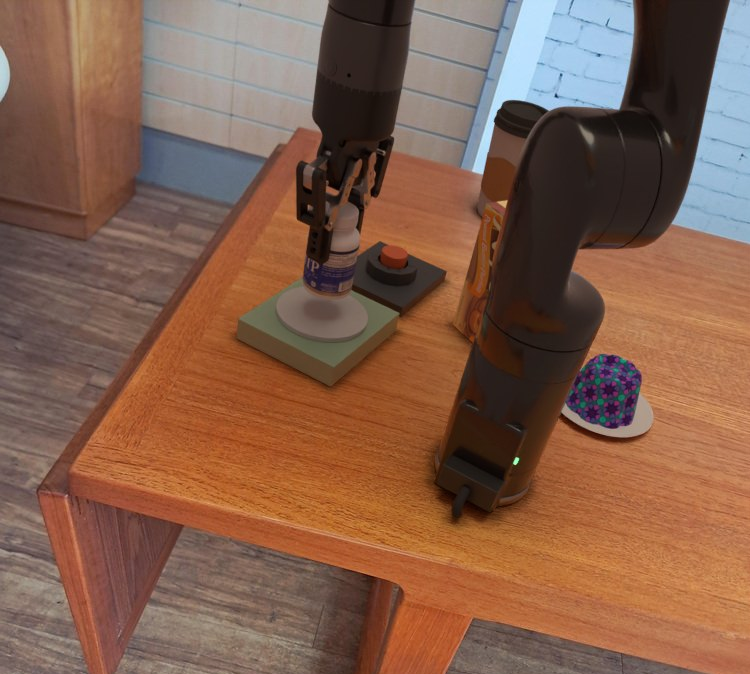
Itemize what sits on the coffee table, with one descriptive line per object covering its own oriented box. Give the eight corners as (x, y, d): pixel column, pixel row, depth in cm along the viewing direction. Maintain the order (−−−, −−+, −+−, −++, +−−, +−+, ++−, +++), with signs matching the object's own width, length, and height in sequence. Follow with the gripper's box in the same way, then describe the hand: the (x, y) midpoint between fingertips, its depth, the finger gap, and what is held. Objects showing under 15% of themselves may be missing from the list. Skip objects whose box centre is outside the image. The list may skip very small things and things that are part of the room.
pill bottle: (296, 274, 83) (306, 193, 77) (343, 274, 85) (357, 195, 79) (308, 301, 80) (319, 220, 74) (357, 301, 82) (372, 221, 75)
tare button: (397, 273, 94) (400, 261, 93) (374, 262, 95) (377, 251, 94) (409, 263, 96) (412, 252, 95) (387, 253, 97) (390, 242, 96)
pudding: (558, 360, 92) (574, 322, 88) (657, 398, 90) (677, 361, 86) (534, 415, 83) (551, 375, 80) (642, 457, 81) (665, 419, 78)
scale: (330, 387, 80) (335, 362, 78) (236, 338, 83) (238, 313, 81) (395, 331, 90) (400, 308, 88) (308, 289, 93) (311, 266, 90)
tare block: (400, 317, 92) (405, 295, 90) (329, 284, 94) (332, 261, 92) (444, 281, 100) (450, 259, 98) (377, 250, 102) (382, 229, 100)
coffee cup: (532, 217, 119) (566, 114, 108) (509, 234, 113) (543, 128, 103) (484, 196, 121) (513, 94, 110) (459, 212, 115) (488, 105, 105)
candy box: (523, 360, 90) (569, 237, 80) (495, 368, 88) (540, 243, 78) (476, 319, 95) (514, 197, 84) (449, 325, 93) (485, 201, 82)
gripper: (354, 103, 62) (325, 291, 74) (435, 70, 71) (398, 241, 83) (277, 71, 64) (260, 260, 75) (366, 43, 73) (339, 214, 85)
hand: (333, 249), depth 79 cm, fingers closed on pill bottle, 5 cm apart
